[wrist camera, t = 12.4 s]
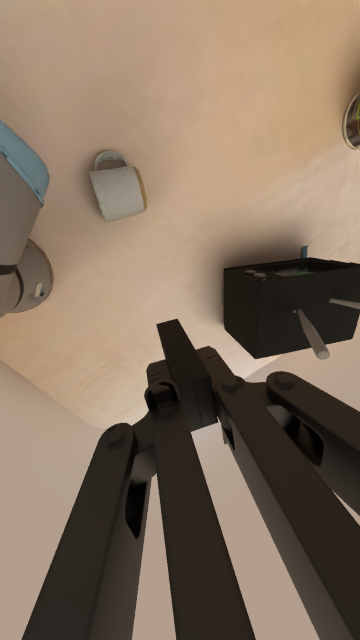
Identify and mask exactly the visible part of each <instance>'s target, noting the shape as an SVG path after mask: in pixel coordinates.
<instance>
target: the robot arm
mask: <svg viewBox="0 0 360 640" xmlns="http://www.w3.org/2000/svg"><path fill="white" fill-rule="evenodd" d="M48 184H49V174H48V170H47V167H46V166H45V164H44V162H43V161H42V159H41V158H40V157H39V156H38V155H37V154H36V152H35V151H34V150H33V149H32V148H31V147H30V146H29V145H28V144H27V143H26V142H25V141H24V140H23V139H21V138H20V137H19V136H18V135H17V134H16V133H15V132H14V131H13V130H12V129H10V128H9V127H8V126H7V125H6V124H5V123H4V122H2V121H1V120H0V318H1V317H2V316H4V315H5V314H7V313H18V312H24V311H27V310H30V309H32V308H34V307H36V306H38V305H39V304H40V303H42V302H43V301H44V300H45V299H46V298H47V297H48V295H49V293H50V291H51V289H52V286H53V272H52V268H51V265H50V263H49V261H48V259H47V258H46V256H45V255H44V253H43V252H42V251H41V250H40V249H39V248H38V247H37V246H36V245H35V244H34V243H33V242H31V241H30V240H28V238H29V235H30V233H31V230H32V228H33V225H34V223H35V220H36V217H37V215H38V212H39V210H40V208H42V207H43V205H44V200H43V199H44V196H45V193H46V190H47V187H48ZM156 325H157V329H158V332H159V336H160V340H161V344H162V347H163V351H164V355H165V360H161V361H158V362H154V363H151V364H149V366H148V368H147V370H146V371H147V379H148V388H147V389H146V391H145V394H144V397H145V400H146V403H147V406H148V409H149V411H148V413H147V414H146V415H145V417H144V418H142V419H141V420H140V421H138V422H137V423H135V424H134V425H132V426H131V425H129V424H128V423H119V424H115V425H113V426H111V427H110V428H108V429H107V430H106V431H105V432H104V433H103V434H102V436H101V438H100V439H99V441H98V444H97V447H96V449H95V452H94V454H93V457H92V460H91V462H90V465H89V467H88V470H87V473H86V475H85V478H84V480H83V483H82V485H81V488H80V491H79V493H78V496H77V498H76V501H75V504H74V506H73V508H72V511H71V514H70V517H69V519H68V521H67V524H66V527H65V529H64V532H63V534H62V537H61V540H60V542H59V545H58V547H57V550H56V553H55V555H54V557H53V560H52V563H51V565H50V568H49V570H48V573H47V575H46V578H45V581H44V583H43V586H42V588H41V591H40V594H39V596H38V599H37V601H36V604H35V607H34V609H33V612H32V614H31V617H30V619H29V622H28V624H27V627H26V630H25V632H24V635H23V637H22V640H132V633H133V625H134V617H135V609H136V600H137V593H138V585H139V576H140V568H141V560H142V552H143V543H144V535H145V528H146V520H147V512H148V504H149V503H148V502H149V495H150V487H151V477H153V476H154V475H155V474H157V480H158V488H159V496H160V505H161V514H162V521H163V530H164V539H165V547H166V555H167V564H168V573H169V581H170V590H171V598H172V607H173V615H174V623H175V631H176V640H256V639H255V635H254V632H253V629H252V626H251V623H250V620H249V616H248V613H247V610H246V607H245V604H244V601H243V597H242V594H241V591H240V588H239V585H238V581H237V578H236V576H235V572H234V569H233V566H232V562H231V559H230V556H229V553H228V550H227V546H226V544H225V540H224V537H223V534H222V531H221V527H220V524H219V521H218V518H217V515H216V511H215V509H214V505H213V502H212V499H211V496H210V492H209V489H208V486H207V483H206V480H205V476H204V473H203V470H202V467H201V464H200V461H199V458H198V454H197V451H196V448H195V445H194V442H193V439H192V435H191V432H192V431H194V430H197V429H200V428H203V427H206V426H209V425H212V424H215V423H218V419H217V416H218V418H219V420H220V422H221V426H222V433H223V439H224V443H225V444H227V442H228V445H229V447H230V449H231V451H232V453H233V456H234V458H235V460H236V462H237V464H238V466H239V468H240V470H241V473H242V475H243V477H244V479H245V481H246V483H247V485H248V488H249V490H250V492H251V494H252V496H253V498H254V500H255V502H256V505H257V507H258V509H259V511H260V513H261V515H262V517H263V520H264V522H265V524H266V526H267V528H268V530H269V532H270V534H271V537H272V539H273V541H274V543H275V545H276V547H277V549H278V551H279V553H280V555H281V558H282V560H283V562H284V564H285V566H286V568H287V571H288V573H289V575H290V577H291V579H292V581H293V583H294V585H295V588H296V590H297V592H298V594H299V596H300V598H301V600H302V603H303V605H304V607H305V609H306V611H307V613H308V615H309V617H310V620H311V622H312V624H313V626H314V628H315V630H316V632H317V634H318V636H319V639H320V640H360V526H359V524H358V523H357V522H356V521H355V519H354V518H353V517H352V516H351V514H350V513H349V512H348V511H347V509H346V508H345V507H344V506H343V504H342V503H341V502H340V500H339V499H338V498H337V497H336V495H335V494H334V493H333V492H335V493H336V494H337V495H338V496H339V497H340V498H341V499H342V500H343V501H344V502H345V503H346V504H347V505H349V506H350V507H351V508H352V509H353V510H354V511H355V512H356V513H357V514H358V515H359V516H360V412H359V411H357V410H356V409H354V408H352V407H350V406H348V405H347V404H345V403H343V402H342V401H340V400H338V399H336V398H335V397H333V396H331V395H329V394H328V393H326V392H324V391H322V390H321V389H319V388H317V387H315V386H314V385H312V384H310V383H308V382H306V381H305V380H303V379H301V378H300V377H298V376H296V375H294V374H292V373H289V372H283V371H280V372H274V373H271V374H270V375H269V376H267V379H266V382H259V383H250V382H246V381H245V380H244V379H242V378H241V377H239V376H236V375H234V374H233V372H232V371H231V370H230V368H229V367H228V366H227V364H226V363H225V362H224V360H222V358H221V356H219V354H218V352H217V351H216V350H215V349H213V348H211V347H210V346H207V347H203V348H200V349H197V350H195V348H194V347H193V345H192V343H191V341H190V340H189V338H188V336H187V334H186V333H185V331H184V329H183V328H182V326H181V324H180V322H179V321H178V319H174V320H170V321H167V322H163V323H159V324H156Z"/></svg>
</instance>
